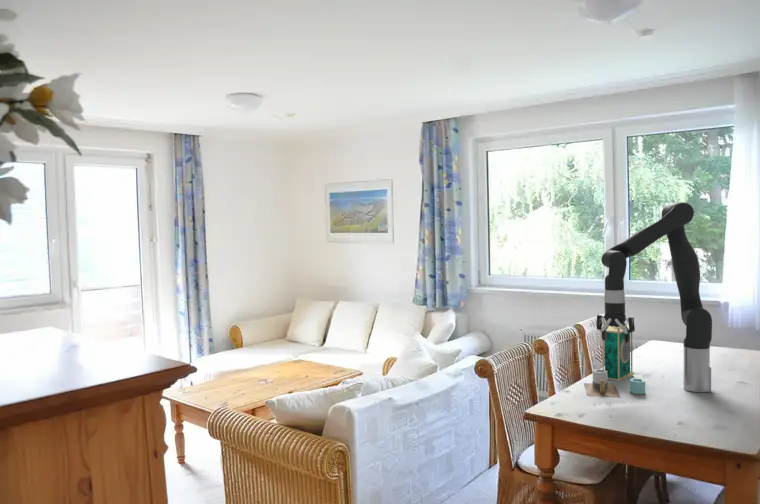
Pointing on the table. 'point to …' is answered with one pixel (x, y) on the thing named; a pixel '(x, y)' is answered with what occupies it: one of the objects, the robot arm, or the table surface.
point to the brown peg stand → (601, 390)
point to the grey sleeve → (599, 378)
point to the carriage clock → (617, 354)
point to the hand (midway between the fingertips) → (615, 341)
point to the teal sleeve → (637, 386)
